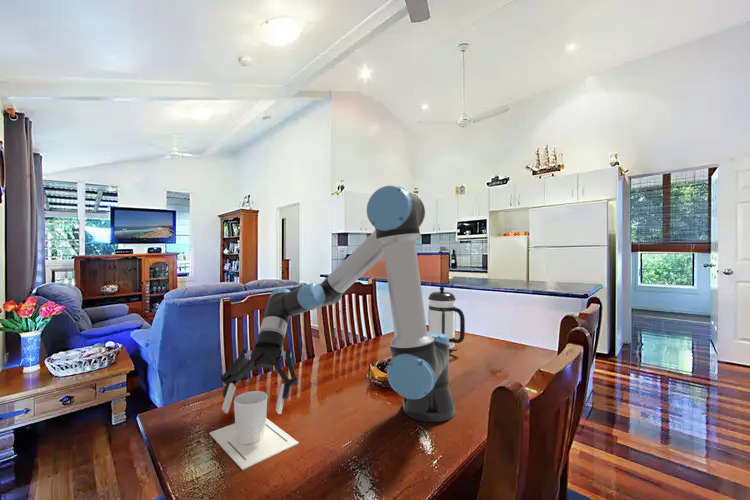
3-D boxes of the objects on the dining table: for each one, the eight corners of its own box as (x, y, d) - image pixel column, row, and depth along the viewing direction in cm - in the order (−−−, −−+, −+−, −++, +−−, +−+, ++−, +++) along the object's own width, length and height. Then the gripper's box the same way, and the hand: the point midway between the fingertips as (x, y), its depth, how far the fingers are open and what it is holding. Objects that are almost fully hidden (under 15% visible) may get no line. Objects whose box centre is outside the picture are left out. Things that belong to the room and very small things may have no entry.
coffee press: (425, 354, 153) (425, 288, 153) (426, 344, 169) (426, 284, 168) (464, 356, 150) (465, 289, 150) (461, 346, 166) (461, 285, 166)
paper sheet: (298, 443, 82) (298, 442, 82) (242, 470, 72) (242, 468, 72) (260, 414, 96) (260, 413, 96) (209, 433, 86) (209, 432, 86)
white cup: (258, 425, 90) (258, 388, 90) (272, 437, 84) (273, 397, 84) (228, 436, 85) (228, 397, 85) (241, 450, 79) (242, 407, 79)
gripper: (315, 342, 101) (303, 417, 86) (233, 341, 102) (207, 416, 87) (311, 329, 96) (298, 406, 81) (225, 328, 96) (196, 405, 81)
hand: (251, 411), depth 84 cm, fingers open, 13 cm apart
